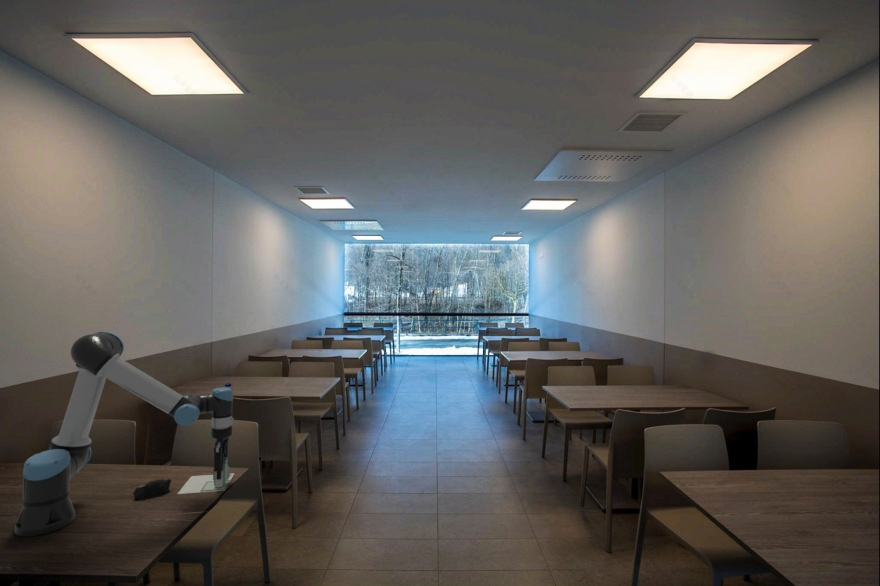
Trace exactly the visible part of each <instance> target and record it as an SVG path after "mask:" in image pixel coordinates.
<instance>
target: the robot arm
mask: <svg viewBox="0 0 880 586" xmlns="http://www.w3.org/2000/svg"><path fill="white" fill-rule="evenodd" d="M124 349H125V344H124V341H123V339H122V338H121V337H120V336H119V335H118V334H116V333H114V332H109V331H98V332H94V333H91V334H85V335H83V336H81V337H79V338H77V340H75V342H73V344H72V346H71V349H70V357H71V358H72V360H73V362H74V363H75V367H76V369H77V370H78V374H77V377H76V381H75V384H74V386H73V388H72V393H71V396H70V399H69V402H68V405H67V409H66V411H65V415H64V418H63V421H62V424H61V428H60V430H59V434H57V436H54V437H53V438H52V439H51V441H50V445H49V448H48V449H47V450H43V451H41V452H39V453H35V454H33V455H32V456H30V457H29V458H27V459H26V460H25V462H24V464H23V465H24V466H23V469H22V508H21V510H20V512H19V515H18V517H17V519H16V522H15V524H14V534H15V535H16V536H18V537H23V538H24V537H36V536H41V535H42V536H43V535H45V534H49V533H51V532H52V533H53V532H56V531H57V530H60V529H63V528H64V527H67V526H69V524H71V523H72V522H74V520H75V518H76V510H75V507H74V505H73V502H72V500H71V498H70V480H71V479H72V478H73V477H74V476H75V475H76V474H78V473H79V472H80V471H81V470H83V469H84V468H85V467H86V466H87V464H88V463H89V461H90V459H91V456H92V448H91V444H92V442H93V441H92V439H91V437H90V436H89V435H90V431H91V428H92V425H93V423H94V419H95V416H96V413H97V409H98V406H99V404H100V403H99V402H100V400H101V398H102V397H101V396H102V393H103V390H104V386H105V384H106V381H107V380H109V381H111V382H112V383H114V384H116V385H118V386H119V387H121V388H123V389H125V390H127V391H128V392H129V393H131V394H133V395H135V396H136V397H139V398H141V399H142V400H144V401H145V402H146V403H149V404H150V405H152V406H154V407H156V408H157V409H158V410H161V411H162V412H164V413H166V414H167V415H169V416H171V417H173V419H174V421H175V423H176V424H178V425H179V426H182V427H187V426H190V425H192V424H194V423H195V422H196V421H197V420H198V419H199V417H200V415H202V414H203V415H204V414H211V435H210V436H211V438H212V439H215V440H216V441H215V444H214V448H213V453H214V456H213V457H214V458H213V470H212V471H213V472H215V471H216V476H215V487H223V457H228V458H229V440H230V439H229V438H230V437H231V436H232V435H233V426H232V425H233V421H234V420H235V418H234V417H233V409H234V408H233V406H234V405H233V404H234V396H233V395H234V393H233V389H232V388H230V387H216V388H214V389H212V392H211V393H208V394H207V393H203V394H187V395H182V394H180V393H178V392H177V391H175V390H174V389H173V388H171V387H169V386H167V385H165V384H164V383H162V382H161V381H159V380H157V379H155V378H154V377H152V376H150V375H149V374H148V373H146V372H144V371H142V370H141V369H139V368H137V367H135V366H134V365H132V364H130V363H129V362H127V361H125V360H124V359H123V358H121V356H122V354H123V352H124ZM228 464H230V463H229V462H228ZM213 472H212V473H213Z"/></svg>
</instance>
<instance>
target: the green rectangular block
mask: <svg viewBox="0 0 880 586" xmlns="http://www.w3.org/2000/svg"><path fill="white" fill-rule="evenodd" d="M228 461H229V456H228V457H223V486H225V484H226V482H227V469H228V467H229V463H228ZM215 476H216V471H215V472H214V486H215Z"/></svg>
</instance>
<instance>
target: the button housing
mask: <svg viewBox="0 0 880 586" xmlns="http://www.w3.org/2000/svg"><path fill="white" fill-rule="evenodd" d="M230 468H231V467H230V466H228V469H227V477H228V476H229V474H231V473H230V471H231V470H230ZM212 475H213V480H214V472H212Z"/></svg>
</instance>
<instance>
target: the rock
mask: <svg viewBox="0 0 880 586" xmlns="http://www.w3.org/2000/svg"><path fill="white" fill-rule="evenodd" d="M171 483H172V479H171V478H168V479H163V478H161V479H154V480H151V481H148V482H146V483H144V484H142V485H139V486H137V487H136V488H135V489H134V491H133V499H137V500H139V501H143V500H145V499H151V498H154V497H157V496H161V495H164V494H166V493H168V492H169V491H170V487H171V486H170V485H171Z"/></svg>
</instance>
